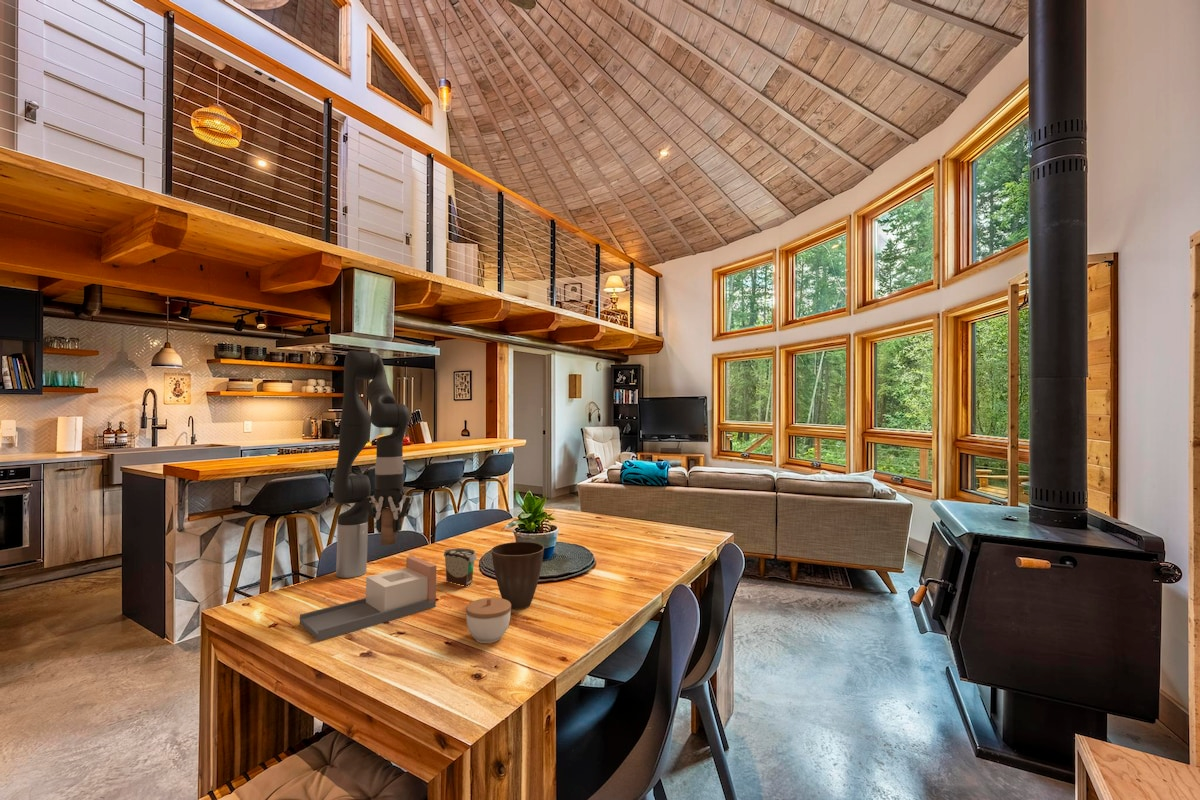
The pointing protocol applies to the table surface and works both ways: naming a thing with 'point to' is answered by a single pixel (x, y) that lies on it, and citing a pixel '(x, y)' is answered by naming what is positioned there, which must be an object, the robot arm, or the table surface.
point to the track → (367, 609)
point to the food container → (459, 565)
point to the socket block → (396, 589)
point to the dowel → (387, 527)
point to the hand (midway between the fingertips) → (388, 531)
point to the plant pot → (517, 571)
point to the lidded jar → (488, 619)
